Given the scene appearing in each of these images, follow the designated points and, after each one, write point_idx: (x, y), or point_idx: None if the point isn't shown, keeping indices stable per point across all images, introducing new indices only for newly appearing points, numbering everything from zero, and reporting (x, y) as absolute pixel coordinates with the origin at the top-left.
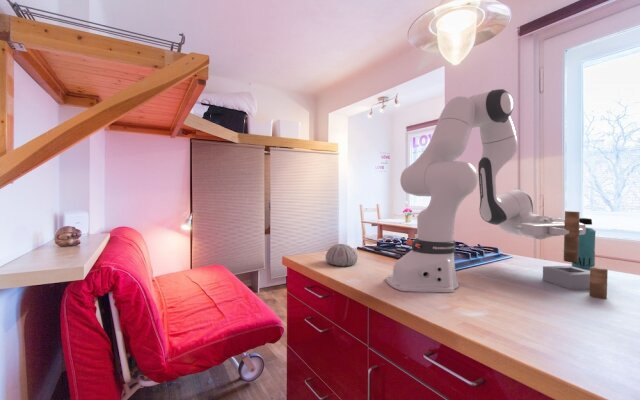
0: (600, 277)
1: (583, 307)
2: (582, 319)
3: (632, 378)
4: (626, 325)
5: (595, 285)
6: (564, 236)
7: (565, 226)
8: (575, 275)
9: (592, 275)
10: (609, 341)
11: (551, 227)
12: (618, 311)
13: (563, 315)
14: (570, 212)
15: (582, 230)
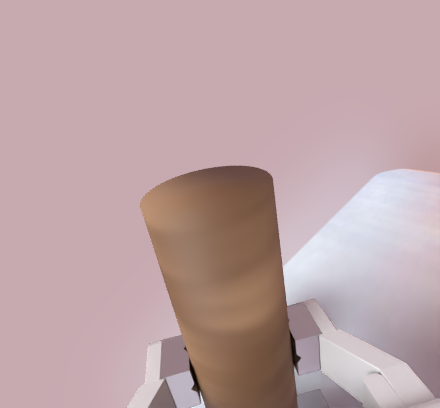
0: None
1: (349, 288)
2: (371, 246)
3: (370, 181)
4: (315, 244)
5: None
6: (294, 395)
7: (287, 316)
8: (302, 395)
9: None
10: (361, 211)
11: (414, 388)
12: (290, 283)
13: (399, 252)
14: (253, 172)
15: (159, 344)
